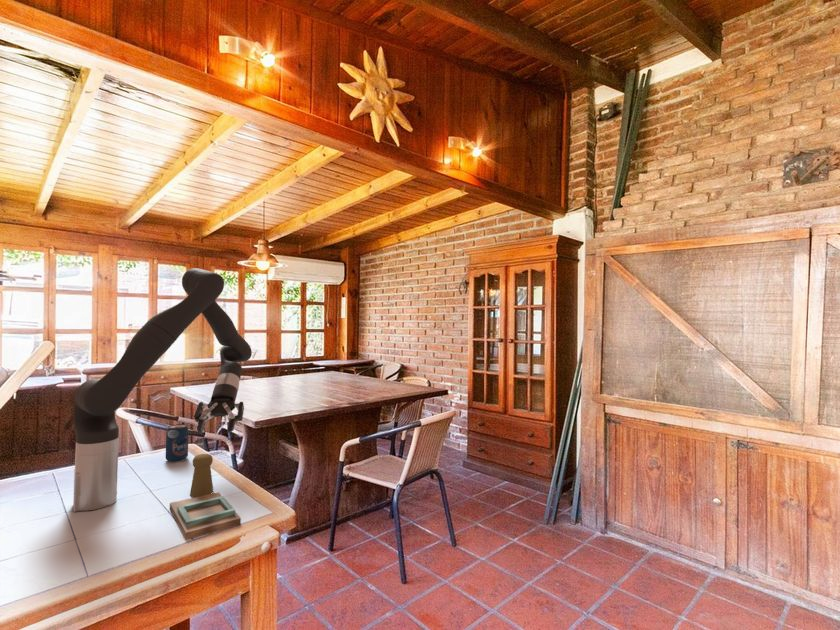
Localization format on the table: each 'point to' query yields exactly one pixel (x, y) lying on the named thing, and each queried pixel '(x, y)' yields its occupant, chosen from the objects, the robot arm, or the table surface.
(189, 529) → the holder plate
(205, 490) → the cork
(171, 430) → the soda can
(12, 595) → the table surface
